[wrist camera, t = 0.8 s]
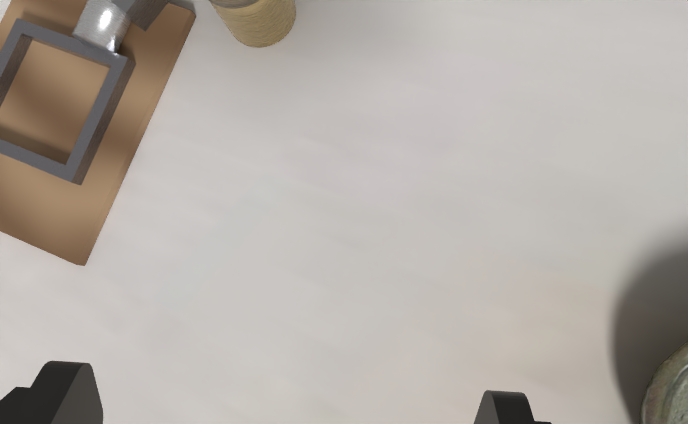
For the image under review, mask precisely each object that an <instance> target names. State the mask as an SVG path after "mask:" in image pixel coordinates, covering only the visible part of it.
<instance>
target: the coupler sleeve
mask: <svg viewBox="0 0 688 424" xmlns="http://www.w3.org/2000/svg"><path fill="white" fill-rule="evenodd" d="M209 1H210V2H211V4H212V5H213V6H214V8H215V9H216V11H217V12H218V14H219V15H220V17H221V18H222V20H223V21H224V22H225V24H226V25H227V27H228V28H229V30H230V31H231V33H232V34H233V35H234V37H235V38H236V39H237V40H238V41H240V42H241V43H243V44H245V45H247V46H251V47H267V46H270V45H273V44H275V43H277V42H279V41H280V40H282V39H283V38H284V37H285V36H286V35H287V34H288V33H289V31H290V30H291V28H292V26H293V24H294V21H295V16H296V7H295V3H294V0H209Z"/></svg>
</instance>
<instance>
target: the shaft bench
mask: <svg viewBox="0 0 688 424" xmlns="http://www.w3.org/2000/svg"><path fill="white" fill-rule="evenodd" d="M87 1H88V0H11V2H10V4H9V7H8V9H7V11H6V13H5V15H4V17H3V19H2V21H1V23H0V52H1V49H2V47H3V45H4V43H5V41H6V39H7V37H8V35H9V33H10V31H11V29H12V27H13V24H14V22H15V20H16V18H19V19H22V20H24V21H27V22H30V23H33V24H35V25H38V26H41V27H44V28H47V29H49V30H52V31H55V32H58V33H61V34H63V35H66V36H69V37H72V38H75V37H74V36H73V35H72V33H73V31H74V29H75V26H76V24H77V22H78V20H79V18H80V16H81V14H82V11H83V9H84V7H85V5H86V3H87ZM195 18H196V16H195V15H194V13H193V12H192V11H191V10H188V9H185V8H182V7H179V6H176V5H173V4H170V3H168V4H167V5H166V6H165V7H164V9H163V10H162V11H161V12H160V14H159V15H158V16H157V18H156V19H155V20H154V21H153V23H152V24H151V25H150V27H149V28H148V29H147V30H146V32H145V31H143V30H142V29H140V28H139V27H138V26H136V25H135V24H133V23H132V22H131V23H130V25H129V27H128V30H127V32H126V34H125V36H124V38H123V41H122V43H121V45H120V47H119V49H118V51H117V54H119V55H122V56H125V57H128V58H129V59H130V60H131V61H133V62H134V63H135V64H136V66H135V68H134V70H133V73H132V75H131V77H130V79H129V81H128V84H127V86H126V88H125V90H124V92H123V95H122V97H121V99H120V101H119V103H118V106H117V108H116V110H115V112H114V114H113V117H112V119H111V121H110V123H109V125H108V128H107V130H106V132H105V134H104V136H103V139H102V141H101V143H100V145H99V147H98V150H97V152H96V154H95V156H94V158H93V161H92V163H91V165H90V167H89V169H88V172H87V174H86V176H85V178H84V180H83V183H82V185H81V186H80V185H77V184H74V183H71V182H69V181H66V180H64V179H62V178H59V177H57V176H54V175H52V174H49V173H47V172H45V171H42V170H40V169H37V168H35V167H32V166H30V165H28V164H25V163H23V162H20V161H18V160H15V159H13V158H11V157H8V156H6V155H3V154H1V153H0V231H1V232H3V233H6V234H8V235H10V236H12V237H15V238H17V239H19V240H22V241H24V242H26V243H28V244H31V245H33V246H35V247H37V248H40V249H42V250H44V251H47V252H49V253H51V254H53V255H56V256H58V257H60V258H62V259H65V260H67V261H69V262H72V263H74V264H76V265H83V266H85V264H86V262H87V260H88V258H89V255H90V253H91V251H92V249H93V246H94V244H95V242H96V240H97V237H98V235H99V233H100V231H101V228H102V226H103V224H104V222H105V219H106V217H107V215H108V213H109V210H110V208H111V206H112V204H113V202H114V199H115V197H116V195H117V193H118V190H119V188H120V186H121V184H122V181H123V179H124V177H125V175H126V172H127V170H128V168H129V166H130V163H131V161H132V159H133V157H134V155H135V152H136V150H137V148H138V146H139V143H140V141H141V139H142V137H143V134H144V132H145V130H146V128H147V125H148V123H149V121H150V119H151V116H152V114H153V112H154V110H155V108H156V105H157V103H158V101H159V99H160V96H161V94H162V92H163V90H164V87H165V85H166V83H167V81H168V78H169V76H170V74H171V72H172V69H173V67H174V65H175V63H176V61H177V58H178V56H179V54H180V52H181V49H182V47H183V45H184V43H185V40H186V38H187V36H188V34H189V31H190V29H191V27H192V25H193V22H194V20H195ZM75 39H76V38H75ZM109 70H110V68H107V67H105V66H102V65H99V64H96V63H94V62H91V61H88V60H85V59H83V58H80V57H77V56H74V55H72V54H69V53H66V52H64V51H61V50H58V49H55V48H53V47H50V46H47V45H44V44H42V43H39V42H36V41H33V40H32V42H31V44H30V46H29V49H28V51H27V53H26V55H25V57H24V59H23V61H22V63H21V65H20V67H19V70H18V72H17V74H16V76H15V78H14V80H13V82H12V84H11V86H10V88H9V91H8V93H7V95H6V97H5V99H4V101H3V103H2V105H1V107H0V139H2V140H5V141H7V142H10V143H12V144H15V145H17V146H20V147H22V148H24V149H27V150H29V151H32V152H34V153H37V154H39V155H42V156H44V157H47V158H49V159H52V160H54V161H57V162H59V163H61V164H64V165H66V163H67V161H68V159H69V157H70V155H71V152H72V150H73V148H74V146H75V144H76V142H77V139H78V137H79V135H80V133H81V131H82V128H83V126H84V124H85V122H86V120H87V118H88V115H89V113H90V111H91V109H92V107H93V104H94V102H95V100H96V98H97V96H98V94H99V91H100V89H101V87H102V85H103V83H104V80H105V78H106V76H107V74H108V72H109Z"/></svg>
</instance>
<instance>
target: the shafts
mask: <svg viewBox="0 0 688 424" xmlns="http://www.w3.org/2000/svg"><path fill="white" fill-rule="evenodd" d="M167 4H168V0H88V1H87V3H86V5H85V7H84V9H83V11H82V14H81V16H80V18H79V20H78V22H77V24H76V26H75V29H74V31H73V33H72V35H73V36H74V37H75V38H76V39H75V38H72V37H69V36H66V35H63V34H61V33H58V32H55V31H52V30H49V29H47V28H44V27H41V26H38V25H35V24H33V23H30V22H27V21H24V20H22V19H19V18H16V20H15V22H14V24H13V27H12V29H11V31H10V33H9V35H8V37H7V39H6V41H5V43H4V45H3V47H2V49H1V52H0V107H1V105H2V103H3V101H4V99H5V97H6V95H7V93H8V91H9V88H10V86H11V84H12V82H13V80H14V78H15V76H16V74H17V72H18V70H19V67H20V65H21V63H22V61H23V59H24V57H25V55H26V53H27V51H28V49H29V46H30V44H31V42H32V40H33V41H36V42H39V43H42V44H44V45H47V46H50V47H53V48H55V49H58V50H61V51H64V52H66V53H69V54H72V55H74V56H77V57H80V58H83V59H85V60H88V61H91V62H94V63H96V64H99V65H102V66H105V67H107V68H110V70H109V72H108V74H107V76H106V78H105V80H104V83H103V85H102V87H101V89H100V91H99V94H98V96H97V98H96V100H95V102H94V104H93V107H92V109H91V111H90V113H89V115H88V118H87V120H86V122H85V124H84V126H83V128H82V131H81V133H80V135H79V137H78V139H77V142H76V144H75V146H74V148H73V150H72V152H71V155H70V157H69V159H68V161H67V163H66V165H64V164H61V163H59V162H57V161H54V160H52V159H49V158H47V157H44V156H42V155H39V154H37V153H34V152H32V151H29V150H27V149H24V148H22V147H20V146H17V145H15V144H12V143H10V142H7V141H5V140H2V139H0V153H1V154H3V155H6V156H8V157H11V158H13V159H15V160H18V161H20V162H23V163H25V164H28V165H30V166H32V167H35V168H37V169H40V170H42V171H45V172H47V173H49V174H52V175H54V176H57V177H59V178H62V179H64V180H66V181H69V182H71V183H74V184H77V185H80V186H81V185H82V183H83V180H84V178H85V176H86V174H87V172H88V169H89V167H90V165H91V163H92V161H93V158H94V156H95V154H96V152H97V150H98V147H99V145H100V143H101V141H102V139H103V136H104V134H105V132H106V130H107V128H108V125H109V123H110V121H111V119H112V117H113V114H114V112H115V110H116V108H117V106H118V103H119V101H120V99H121V97H122V95H123V92H124V90H125V88H126V86H127V84H128V81H129V79H130V77H131V75H132V73H133V70H134V68H135V66H136V64H135V63H134V62H133V61H131V60H130V59H129V58H128V57H125V56H122V55H119V54H117V51H118V49H119V47H120V45H121V43H122V41H123V38H124V36H125V34H126V32H127V30H128V27H129V25H130V23H131V22H132V23H133V24H135V25H136V26H138V27H139V28H140V29H142V30H143V31H145V32H146V30H147V29H148V28H149V27H150V25H151V24H152V23H153V21H154V20H155V19H156V18H157V16H158V15H159V14H160V12H161V11H162V10H163V9H164V7H165V6H166V5H167Z"/></svg>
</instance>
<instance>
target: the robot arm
mask: <svg viewBox="0 0 688 424" xmlns="http://www.w3.org/2000/svg"><path fill="white" fill-rule="evenodd" d="M0 424H103V408H102V404H101V400H100V396H99V392H98V389H97V385H96V381H95V377H94V373H93V369H92V366H91V365H90V364H89V363H79V362H63V361H49V362H47V363H46V364H45V365H44V366H43V368H42V369H41V371H40V372H39V374H38V376H37V377H36V379H35V381H34V382H33V384H32V386H31V387H30V388H26V387H15V388H14V389H13V390H12V391H11V392H10V393H9V394H7V395H6V396H5V397H4V398H3V399H2V400H0ZM474 424H551V422H539V421H534V418H533V415H532V412H531V408H530V405H529V402H528V399H527V397H526V396H525V394H524V393H520V392H505V391H489V390H487V391H485V393H484V395H483V397H482V400H481V403H480V406H479V409H478V412H477V415H476V419H475V422H474Z"/></svg>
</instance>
